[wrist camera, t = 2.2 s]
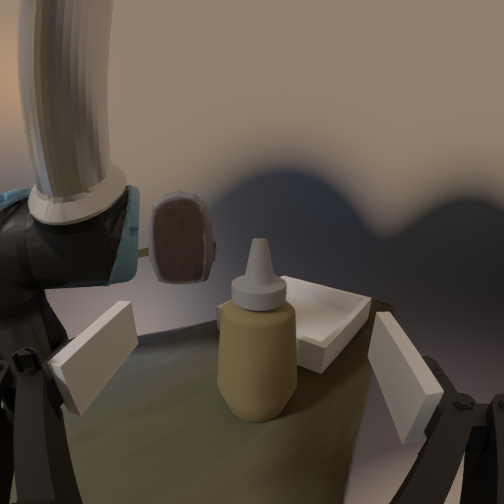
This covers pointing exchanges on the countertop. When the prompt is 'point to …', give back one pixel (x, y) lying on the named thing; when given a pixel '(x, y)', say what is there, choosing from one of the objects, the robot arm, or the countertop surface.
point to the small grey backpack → (181, 239)
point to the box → (321, 321)
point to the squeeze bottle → (257, 342)
